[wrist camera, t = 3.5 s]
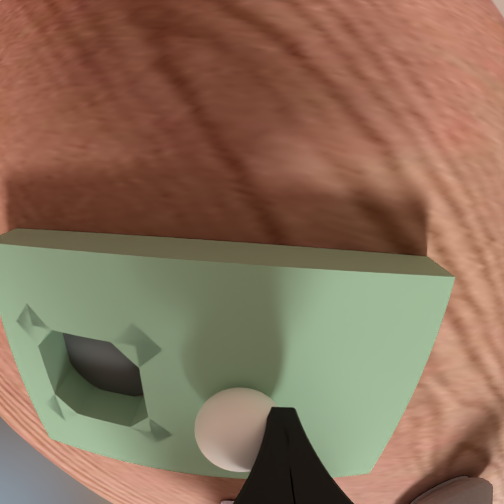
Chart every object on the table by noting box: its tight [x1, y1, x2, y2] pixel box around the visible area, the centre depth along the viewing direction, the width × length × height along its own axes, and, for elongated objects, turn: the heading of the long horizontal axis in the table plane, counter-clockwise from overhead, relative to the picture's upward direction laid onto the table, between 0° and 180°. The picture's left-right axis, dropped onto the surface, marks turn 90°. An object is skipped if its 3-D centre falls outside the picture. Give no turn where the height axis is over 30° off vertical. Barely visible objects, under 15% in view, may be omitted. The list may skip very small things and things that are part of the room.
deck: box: [0, 228, 455, 479], centre depth 14 cm, size 13×20×2 cm, turn 86°
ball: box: [194, 387, 278, 472], centre depth 11 cm, size 4×4×4 cm
